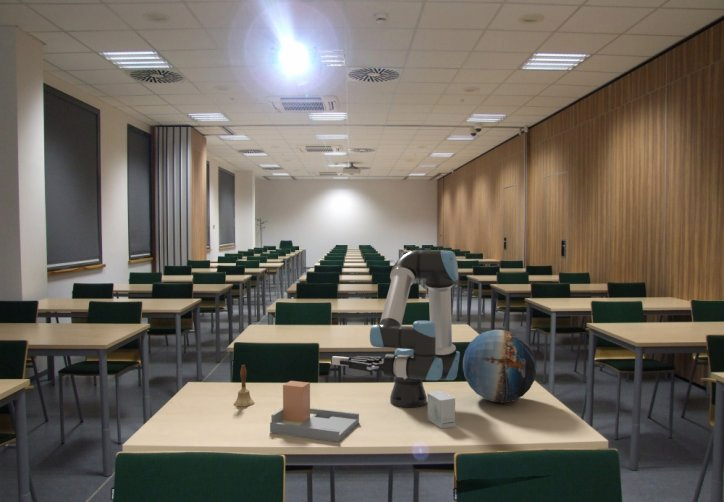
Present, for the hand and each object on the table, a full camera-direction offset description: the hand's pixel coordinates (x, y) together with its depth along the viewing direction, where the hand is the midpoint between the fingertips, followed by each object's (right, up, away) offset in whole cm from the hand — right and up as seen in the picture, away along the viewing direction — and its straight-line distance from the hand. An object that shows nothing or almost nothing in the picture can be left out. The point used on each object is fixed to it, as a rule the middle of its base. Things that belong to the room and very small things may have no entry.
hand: (332, 360), depth 196 cm
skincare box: (+40, -25, +8) cm, 48 cm away
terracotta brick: (-14, -23, +7) cm, 27 cm away
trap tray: (-6, -25, +3) cm, 26 cm away
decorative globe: (+68, -24, +35) cm, 80 cm away
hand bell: (-38, -24, +31) cm, 55 cm away
